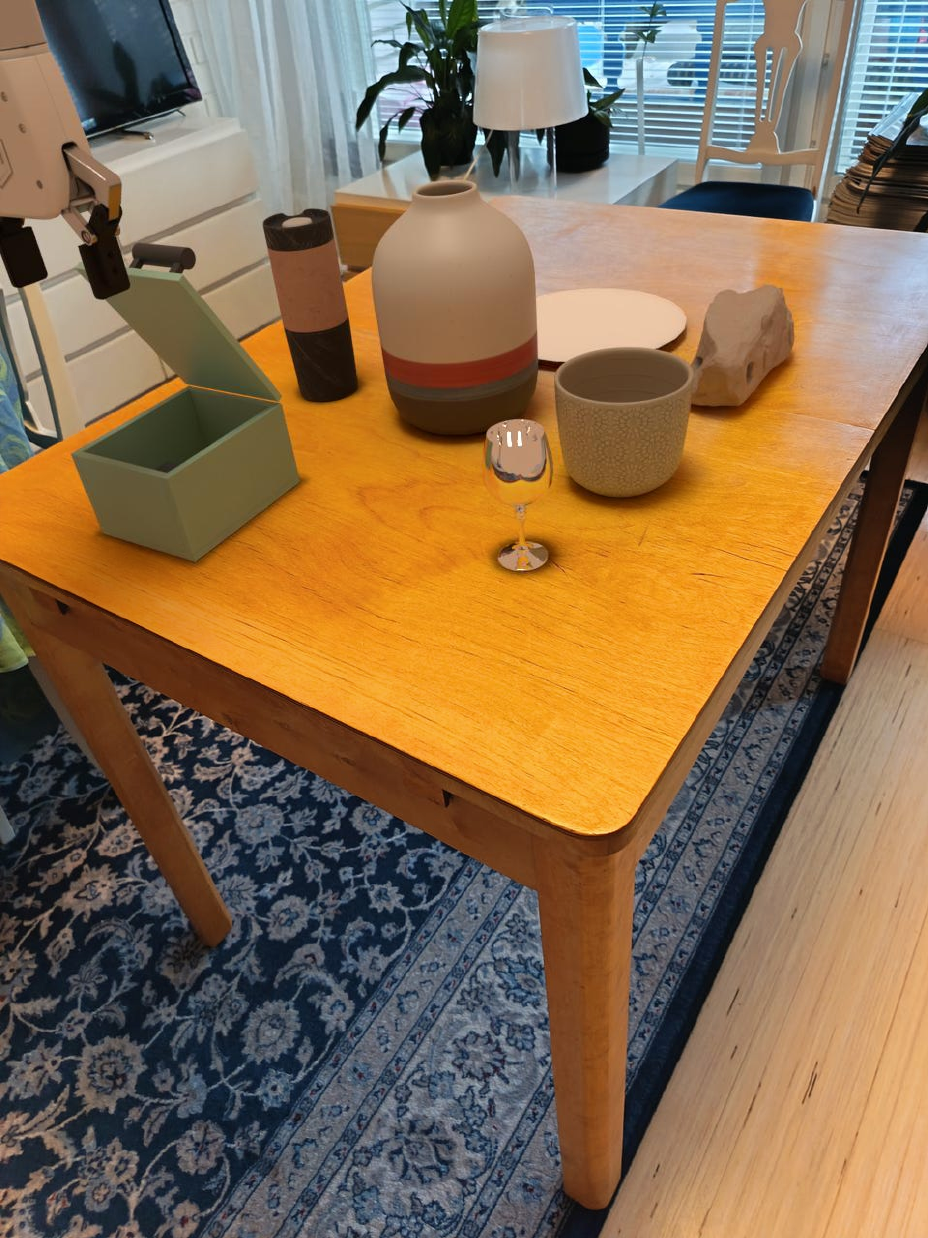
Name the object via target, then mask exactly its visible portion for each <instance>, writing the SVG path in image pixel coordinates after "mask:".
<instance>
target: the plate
mask: <svg viewBox="0 0 928 1238" xmlns="http://www.w3.org/2000/svg"><path fill="white" fill-rule="evenodd" d="M536 310H537V337H538V362H543V363H551V364H558V365H559V364H561V365H562V364H564V363H565V362H567V361H568V360H570V359H572V358H574V357H576V356H578V355H581V354H584V353H587V352H591V351H595V350H600V349H607V348H616V347H641V348H650V349H656V350H660V349H662V348H663V347H665V346H667V345H669V344H672V343H673V342H674V341H676V340H677V339H678V338H679V336H680V335H681V334H683V333H684V331H685V330H686V327H687V321H688V318H687V317H686V314H685V312H684V311H683V309H682V308H681V307H679V306H678V305H676V304H675V303H674V302H673V301H671V300H669V299H667V298H665V297H662V296H659V295H657V294H653V293H648V292H645V291H644V292H643V291H639V290H634V289H625V288H624V289H623V288H615V287H613V288H612V287H608V288H607V287H603V288H601V287H592V288H591V287H588V288H578V289H567V290H561V291H556V292H550V293H545V294H541V295H538V296H536Z"/></svg>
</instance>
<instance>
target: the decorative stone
mask: <svg viewBox="0 0 928 1238" xmlns="http://www.w3.org/2000/svg"><path fill="white" fill-rule="evenodd" d="M783 292H784V289H783V287H777V286H776V285H775V284H764V285H762V286H760V287H757V288H755V289H753V290H747V291H746V292H740V293H739V292H737V291H736V290H733V289H729V288H727V289H724V290H721V291H719V292H718V293H717V294H716V295H715V297H714V299H713V300H712V302H710V303H709V305H708V307H707V310H706V312H705V315H704V320H703V324H702V331H701V334H700V338H699V342H698V345H697V349H696V353H695V355H694V358H693V360H692V362H691V363H690V366H691V367H692V369H693V372H694V380H693V392H692V401H691V405H696V406H710V407H720V406H721V407H722V406H728V407H739V406H741V405H743V404H744V403H745V402H746V401H747V400H748V398H750V396H751V395H752V394H753V393H754V392H755V391H756V390H757V388H758V387H759V385H760V383H761V382H762V381H763V380H764V379H765V378H766V376H767V375H768V374H769V373H770V372H771V371H772V370H773V369H775V367H778V366H779V365H781V364H782V363H783V362H784V361H785V360H786V359H787V358H788V357H789V356H790V354H791V353H792V350H793V348H794V347H793V346H794V344H795V323H794V319H793V316H792V315H793V314H792V312H791V311H790V309H789V308H788V306H787V303H786V297H785V295H784V293H783Z"/></svg>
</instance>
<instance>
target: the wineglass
mask: <svg viewBox="0 0 928 1238" xmlns="http://www.w3.org/2000/svg"><path fill="white" fill-rule="evenodd" d="M483 445H484V446H483V452H482V467H481V468H482V469H481V470H482V478H483V482H484V486H485V488H486V491H487V492H488V494H489V495H490V496H491V497H492V498H493V499H494V500H495V501H496V502H497V503H499V504H502V505H505V506H508V507H514V511H513V514H514V517H515V519H516V523H517V527H518V541H516V542H512V543H509V544H507V545H505V546H504V547H502V548H501V549H500V550H499V552H498V554H497V561H498V564H499V565H501V566H502V567H503V568H504V569H507V570H510V571H514V572H515V571H516V572H528V571H533V570H536V569H538V568H540V567H542V566H543V565H544V564H545V563H546V562H547V561H548V559H549V551H548V549H547V548H546V546H544V545H542V544H540V543H538V542H534V541H526V538H525V521H526V517H527V507H526V506H530V505H533V504H535V503H537V502H539V501H540V500H542V498H544V496H545V495H546V494H547V493H548V492H549V490H550V488H551V485H552V481H553V476H554V463H553V455H552V451H551V446H550V442H549V439H548V435H547V433H546V430H545V428H544V426H543V425H542V424H540V422H536V421H534V420H531V419H523V418H522V419H521V418H515V419H514V420H507V421H503V422H500V423H497V424H495V425H494V426H492V427H491V428H490V429H489V430H488V431H486V435H485V439H484V444H483Z"/></svg>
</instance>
